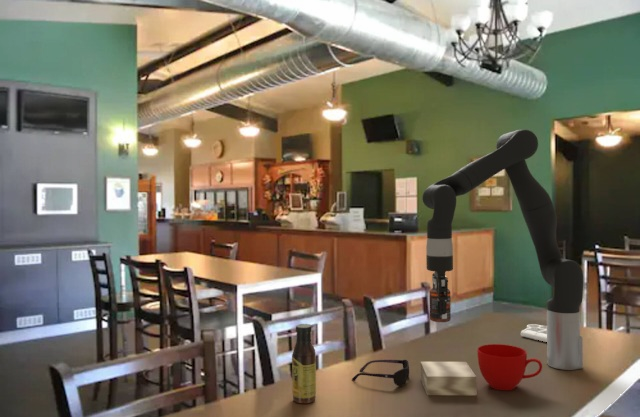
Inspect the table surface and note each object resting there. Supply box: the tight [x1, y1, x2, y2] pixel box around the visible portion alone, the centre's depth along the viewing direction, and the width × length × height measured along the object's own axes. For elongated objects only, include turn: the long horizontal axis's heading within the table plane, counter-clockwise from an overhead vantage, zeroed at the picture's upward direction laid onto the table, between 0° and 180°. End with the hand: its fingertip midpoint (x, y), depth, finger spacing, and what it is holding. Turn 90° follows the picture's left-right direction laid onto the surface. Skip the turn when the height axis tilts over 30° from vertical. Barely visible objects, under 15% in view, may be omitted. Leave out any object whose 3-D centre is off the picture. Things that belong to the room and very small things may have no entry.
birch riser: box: [420, 361, 478, 396], centre depth 145 cm, size 13×13×5 cm
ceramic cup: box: [476, 343, 543, 391], centre depth 144 cm, size 13×17×10 cm
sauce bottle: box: [291, 323, 317, 404], centre depth 137 cm, size 7×6×20 cm
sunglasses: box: [351, 359, 410, 387], centre depth 153 cm, size 14×16×5 cm
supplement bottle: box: [429, 281, 452, 323], centre depth 151 cm, size 6×6×11 cm
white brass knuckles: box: [520, 323, 547, 343], centre depth 195 cm, size 3×18×15 cm
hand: (440, 311), depth 151 cm, fingers closed on supplement bottle, 6 cm apart
